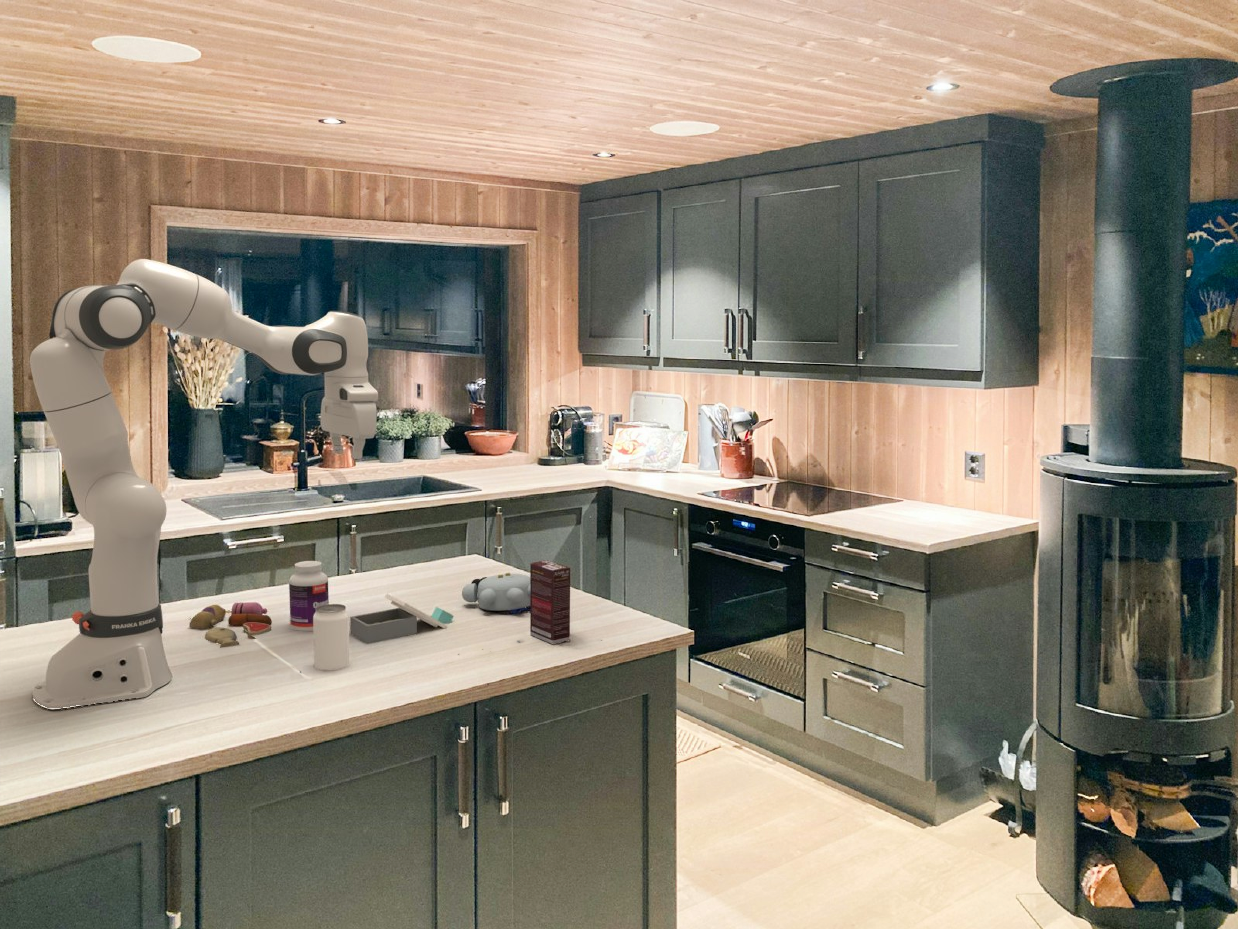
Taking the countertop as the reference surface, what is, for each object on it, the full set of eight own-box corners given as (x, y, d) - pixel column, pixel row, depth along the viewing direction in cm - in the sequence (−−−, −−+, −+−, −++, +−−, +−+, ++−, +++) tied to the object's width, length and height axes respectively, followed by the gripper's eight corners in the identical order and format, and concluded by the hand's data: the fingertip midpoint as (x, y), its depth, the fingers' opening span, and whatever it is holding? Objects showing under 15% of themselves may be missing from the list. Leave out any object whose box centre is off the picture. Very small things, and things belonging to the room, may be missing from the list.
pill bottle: (318, 635, 214) (316, 569, 212) (283, 633, 216) (281, 567, 213) (336, 624, 222) (334, 560, 220) (302, 622, 223) (300, 558, 221)
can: (331, 676, 190) (329, 614, 188) (307, 670, 193) (305, 609, 192) (356, 667, 195) (355, 606, 194) (333, 660, 199) (331, 601, 197)
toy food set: (176, 622, 224) (175, 604, 223) (248, 609, 235) (248, 592, 234) (220, 651, 205) (219, 632, 204) (297, 635, 216) (296, 617, 215)
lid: (402, 608, 211) (411, 591, 211) (383, 599, 217) (392, 583, 218) (451, 635, 219) (460, 619, 220) (431, 625, 226) (440, 609, 227)
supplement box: (571, 640, 213) (571, 567, 211) (552, 645, 210) (552, 570, 208) (547, 630, 219) (547, 559, 217) (529, 635, 216) (529, 562, 214)
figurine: (559, 605, 237) (504, 597, 251) (557, 570, 237) (502, 564, 251) (502, 621, 225) (448, 611, 239) (499, 583, 224) (445, 576, 238)
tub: (367, 647, 207) (367, 626, 206) (350, 637, 213) (350, 616, 212) (417, 637, 214) (416, 616, 213) (399, 627, 220) (398, 607, 219)
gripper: (312, 387, 217) (313, 451, 218) (352, 393, 201) (353, 462, 203) (340, 387, 221) (341, 450, 222) (382, 393, 205) (382, 460, 207)
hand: (347, 456), depth 212 cm, fingers open, 8 cm apart
